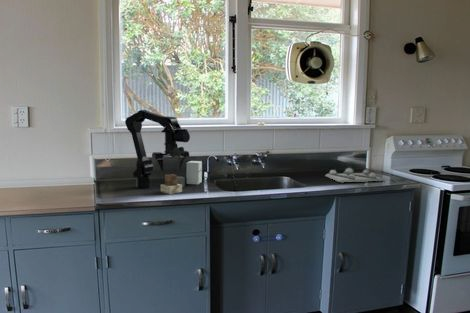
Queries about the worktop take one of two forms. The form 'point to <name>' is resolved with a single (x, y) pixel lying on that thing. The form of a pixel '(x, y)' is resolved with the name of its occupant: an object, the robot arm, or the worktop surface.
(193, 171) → the supplement box
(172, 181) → the walnut cube
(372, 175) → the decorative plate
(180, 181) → the gray cube
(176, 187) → the birch block
